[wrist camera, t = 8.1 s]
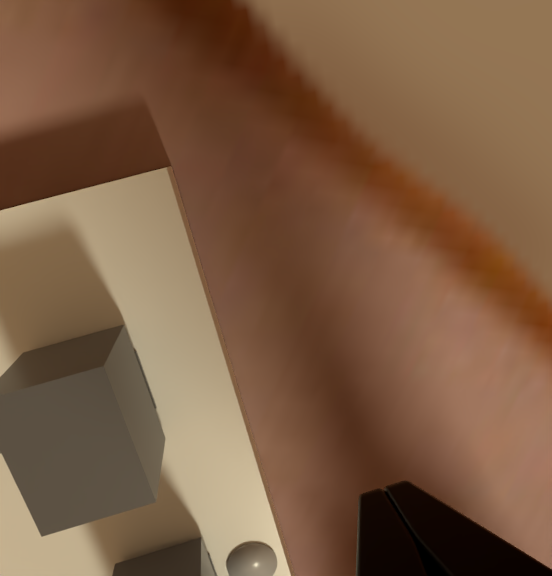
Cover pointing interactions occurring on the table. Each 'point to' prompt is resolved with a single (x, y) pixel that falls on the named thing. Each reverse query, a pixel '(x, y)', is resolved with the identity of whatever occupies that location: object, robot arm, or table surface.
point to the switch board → (155, 369)
